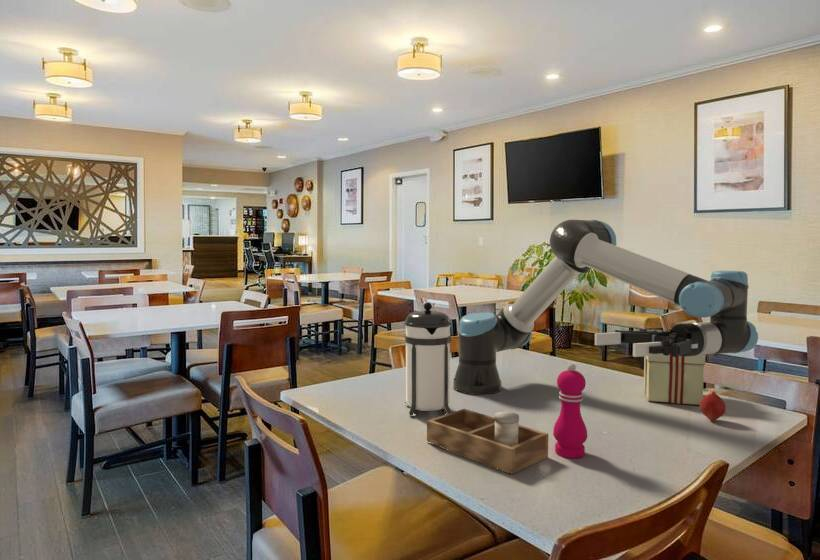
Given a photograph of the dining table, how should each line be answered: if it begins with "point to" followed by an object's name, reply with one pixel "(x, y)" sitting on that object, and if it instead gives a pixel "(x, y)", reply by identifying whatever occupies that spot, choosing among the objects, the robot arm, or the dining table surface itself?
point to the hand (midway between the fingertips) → (613, 344)
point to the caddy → (489, 439)
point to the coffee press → (427, 360)
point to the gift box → (674, 379)
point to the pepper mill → (570, 415)
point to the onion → (712, 406)
